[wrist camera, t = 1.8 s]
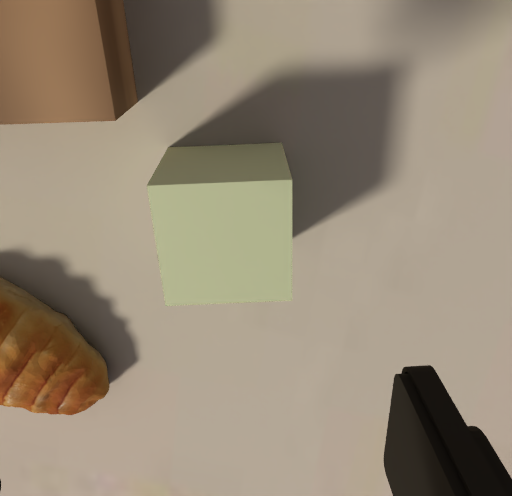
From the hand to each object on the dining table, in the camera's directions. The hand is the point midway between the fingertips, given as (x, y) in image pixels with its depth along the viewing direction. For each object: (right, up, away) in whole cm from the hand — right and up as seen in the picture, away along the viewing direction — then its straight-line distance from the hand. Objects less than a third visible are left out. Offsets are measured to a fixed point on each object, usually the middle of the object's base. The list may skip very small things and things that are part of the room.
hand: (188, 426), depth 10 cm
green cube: (0, +6, +11) cm, 13 cm away
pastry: (-11, -1, +15) cm, 19 cm away
